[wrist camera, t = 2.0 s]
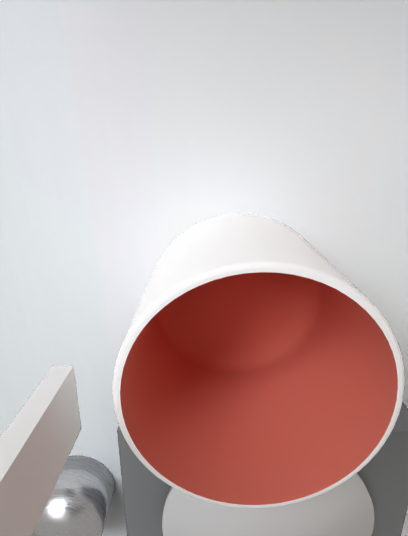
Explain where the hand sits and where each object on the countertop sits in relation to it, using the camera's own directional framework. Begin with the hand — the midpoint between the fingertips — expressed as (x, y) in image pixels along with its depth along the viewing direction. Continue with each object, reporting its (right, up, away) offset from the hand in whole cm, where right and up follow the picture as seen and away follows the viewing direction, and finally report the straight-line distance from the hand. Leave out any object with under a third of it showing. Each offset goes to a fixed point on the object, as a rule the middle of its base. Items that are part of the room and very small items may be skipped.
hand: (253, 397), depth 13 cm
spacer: (-11, -11, +13) cm, 20 cm away
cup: (0, +3, +9) cm, 9 cm away
